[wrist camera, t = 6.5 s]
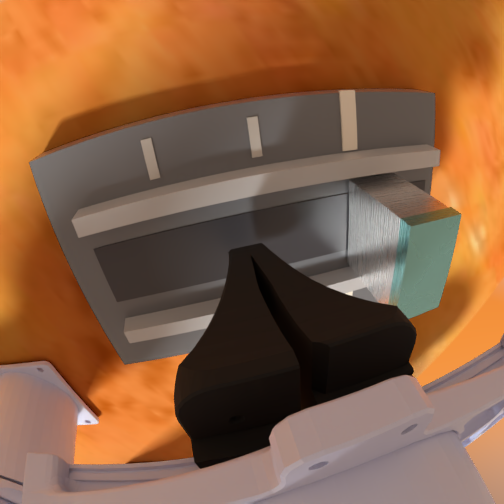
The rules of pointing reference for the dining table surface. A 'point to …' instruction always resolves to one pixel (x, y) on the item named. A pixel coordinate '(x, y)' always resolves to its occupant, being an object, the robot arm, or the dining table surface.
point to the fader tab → (400, 241)
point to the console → (222, 201)
